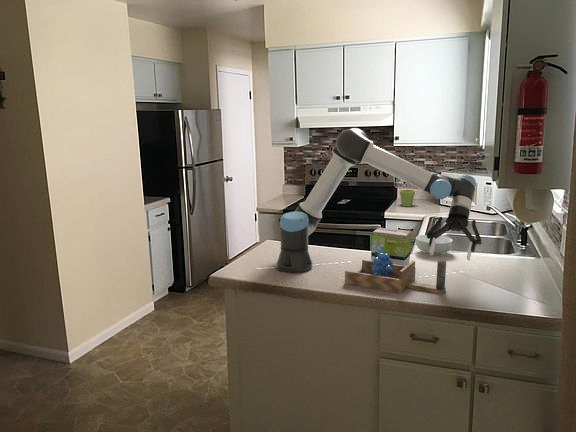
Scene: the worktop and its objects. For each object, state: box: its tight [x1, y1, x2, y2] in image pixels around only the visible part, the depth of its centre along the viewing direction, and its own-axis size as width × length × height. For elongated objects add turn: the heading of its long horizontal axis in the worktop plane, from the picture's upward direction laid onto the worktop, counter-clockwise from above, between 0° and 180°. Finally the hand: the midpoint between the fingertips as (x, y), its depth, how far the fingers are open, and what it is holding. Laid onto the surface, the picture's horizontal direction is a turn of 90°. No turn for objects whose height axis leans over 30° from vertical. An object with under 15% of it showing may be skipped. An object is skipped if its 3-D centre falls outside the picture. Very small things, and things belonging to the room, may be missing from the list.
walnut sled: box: [344, 259, 447, 295], centre depth 186 cm, size 36×18×12 cm, turn 59°
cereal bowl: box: [415, 234, 453, 256], centre depth 231 cm, size 17×17×7 cm
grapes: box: [372, 253, 393, 278], centre depth 189 cm, size 12×7×12 cm, turn 130°
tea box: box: [370, 227, 412, 266], centre depth 214 cm, size 15×10×15 cm, turn 62°
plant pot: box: [398, 189, 417, 208], centre depth 354 cm, size 12×12×11 cm
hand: (449, 256), depth 183 cm, fingers open, 13 cm apart
